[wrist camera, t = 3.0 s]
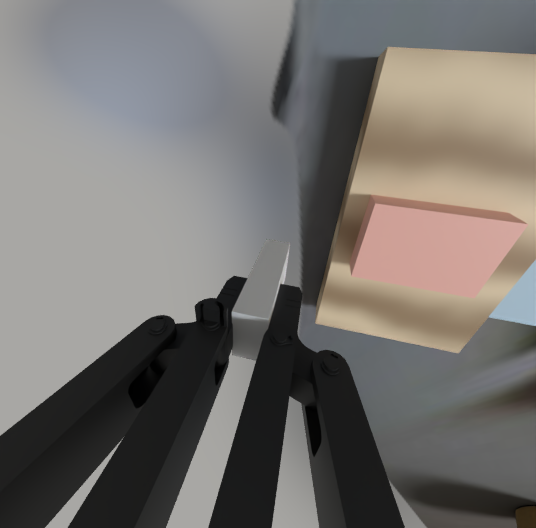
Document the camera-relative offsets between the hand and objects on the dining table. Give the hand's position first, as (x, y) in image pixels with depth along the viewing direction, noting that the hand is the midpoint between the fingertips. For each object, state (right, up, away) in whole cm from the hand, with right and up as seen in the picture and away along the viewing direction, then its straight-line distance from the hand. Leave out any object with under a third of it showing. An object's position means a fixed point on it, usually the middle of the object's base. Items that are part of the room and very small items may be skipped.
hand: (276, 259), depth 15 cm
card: (+11, +1, +3) cm, 12 cm away
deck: (+13, +3, +5) cm, 14 cm away
